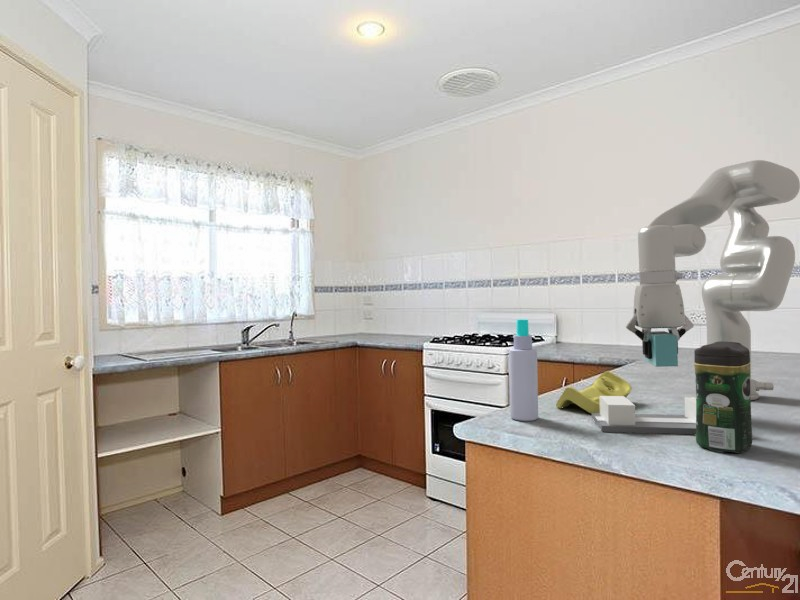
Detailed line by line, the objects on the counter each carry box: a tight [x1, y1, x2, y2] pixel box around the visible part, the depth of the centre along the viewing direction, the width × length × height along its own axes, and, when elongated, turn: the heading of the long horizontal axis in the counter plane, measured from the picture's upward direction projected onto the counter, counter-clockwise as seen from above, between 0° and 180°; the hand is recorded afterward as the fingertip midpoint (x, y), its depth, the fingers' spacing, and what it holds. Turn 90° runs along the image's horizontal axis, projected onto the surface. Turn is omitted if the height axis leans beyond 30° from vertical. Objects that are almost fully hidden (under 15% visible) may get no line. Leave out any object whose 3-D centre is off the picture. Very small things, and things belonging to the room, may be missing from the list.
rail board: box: [591, 396, 696, 435], centre depth 103 cm, size 25×11×5 cm, turn 79°
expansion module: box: [644, 330, 679, 368], centre depth 117 cm, size 4×9×7 cm, turn 169°
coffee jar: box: [693, 341, 753, 454], centre depth 89 cm, size 10×8×19 cm
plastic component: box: [555, 370, 633, 415], centre depth 123 cm, size 20×7×10 cm
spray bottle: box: [508, 318, 539, 422], centre depth 112 cm, size 6×6×22 cm
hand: (660, 356), depth 117 cm, fingers closed on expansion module, 4 cm apart
